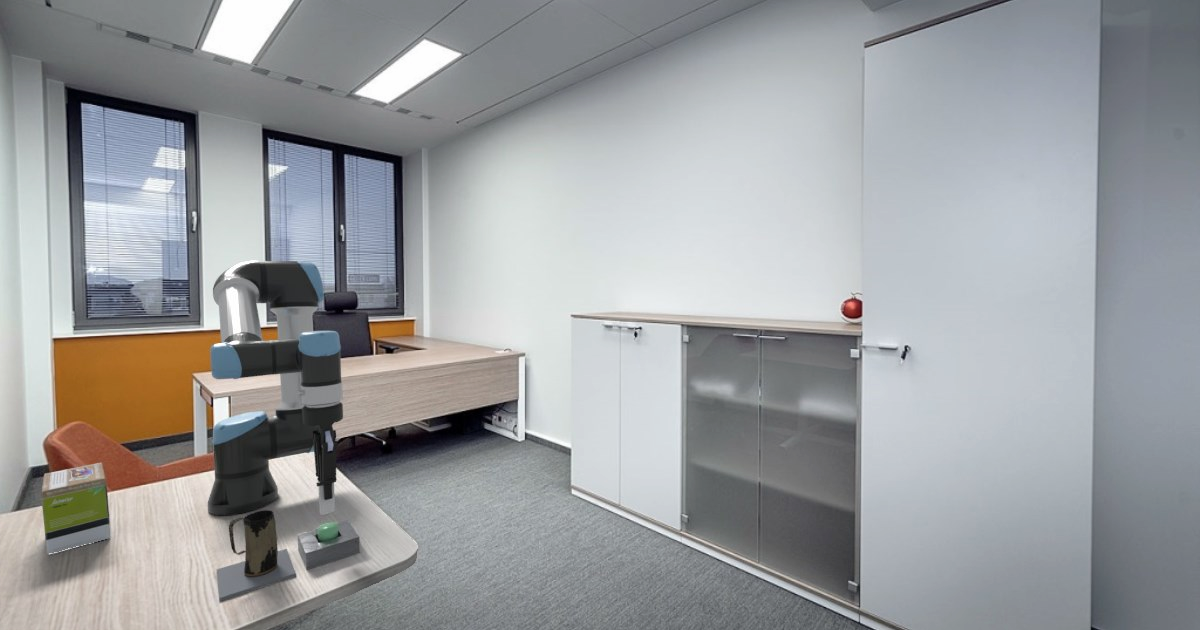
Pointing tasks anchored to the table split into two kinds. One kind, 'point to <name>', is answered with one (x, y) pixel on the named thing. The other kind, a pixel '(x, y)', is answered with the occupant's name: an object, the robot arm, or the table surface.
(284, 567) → the mat
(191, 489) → the table surface
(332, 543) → the button box
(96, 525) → the tea box
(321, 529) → the button
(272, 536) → the mug
